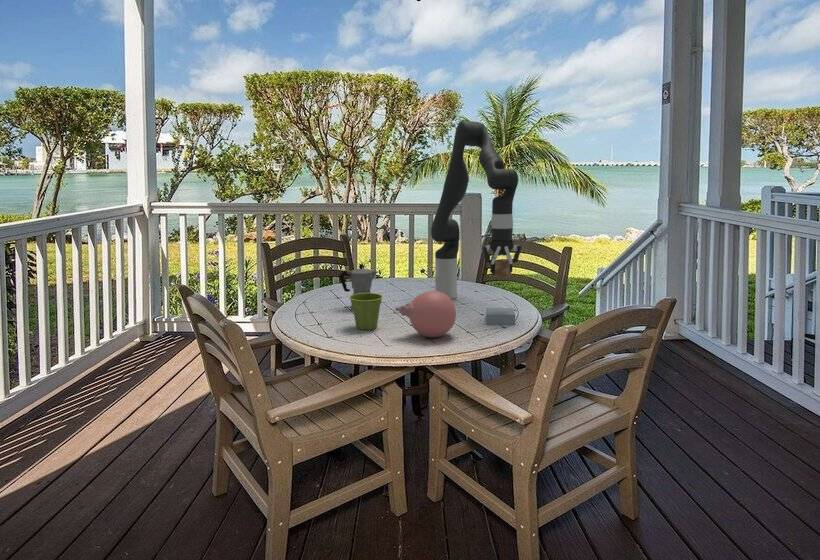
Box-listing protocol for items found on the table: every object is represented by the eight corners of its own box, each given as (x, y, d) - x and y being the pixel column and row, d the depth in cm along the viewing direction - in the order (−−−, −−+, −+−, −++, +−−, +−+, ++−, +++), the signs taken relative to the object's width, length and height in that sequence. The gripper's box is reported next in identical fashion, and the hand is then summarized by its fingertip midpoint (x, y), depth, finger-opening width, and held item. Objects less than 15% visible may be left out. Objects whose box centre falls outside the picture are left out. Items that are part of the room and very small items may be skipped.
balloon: (397, 329, 204) (396, 286, 201) (455, 330, 203) (455, 286, 200) (393, 343, 189) (392, 296, 186) (456, 343, 187) (456, 296, 185)
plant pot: (343, 330, 204) (342, 298, 202) (360, 322, 215) (359, 291, 212) (374, 333, 199) (373, 301, 197) (389, 325, 210) (388, 294, 208)
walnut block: (495, 276, 208) (495, 262, 207) (492, 274, 213) (493, 260, 212) (509, 276, 208) (509, 262, 208) (506, 273, 213) (507, 260, 212)
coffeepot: (375, 304, 241) (374, 261, 237) (381, 310, 232) (380, 264, 228) (338, 307, 236) (336, 263, 233) (342, 313, 228) (341, 267, 224)
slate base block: (486, 325, 210) (486, 314, 209) (485, 318, 219) (485, 307, 219) (515, 325, 209) (515, 314, 208) (513, 318, 218) (513, 308, 218)
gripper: (519, 225, 211) (518, 272, 215) (480, 225, 211) (479, 272, 214) (524, 227, 204) (523, 275, 207) (483, 228, 204) (482, 276, 207)
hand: (501, 274), depth 211 cm, fingers closed on walnut block, 5 cm apart
